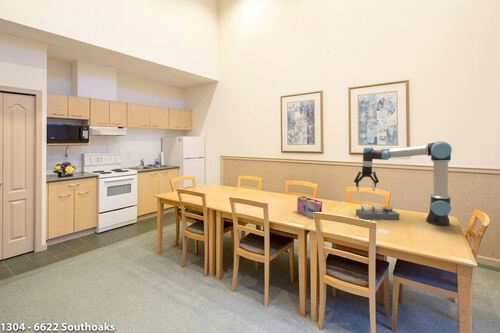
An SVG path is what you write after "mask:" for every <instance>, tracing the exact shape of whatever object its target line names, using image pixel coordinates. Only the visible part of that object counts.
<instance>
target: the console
mask: <svg viewBox="0 0 500 333" xmlns="http://www.w3.org/2000/svg"><path fill="white" fill-rule="evenodd" d="M379 207H380V208H381V210H382V207H383V210H382V212H375V210H374V207H372V206H371V207H370V206H369V208H370V209H371V212H364V210H363V207H361V208H356V209H355V215H356V216H357V217H358V216H359V217H358V218H359V219H361V220H362V219H366V220H367V221H370V220H371V221H372V220H373V221H376V220H377V221H379V220H380V221H381V220H382V221H399V220H400V213H399V212H396V211H394V209H389V210H385V208H384V207H385V206H382V207H381V206H379ZM369 219H370V220H369ZM374 219H376V220H374ZM366 220H365V221H366Z"/></svg>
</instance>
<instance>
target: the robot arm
mask: <svg viewBox="0 0 500 333" xmlns="http://www.w3.org/2000/svg"><path fill="white" fill-rule="evenodd" d="M362 151H363V152H362V167H361V171H358V173H357V175H356V176H355V178H354V180H353V182H354V183H355V187H356V191H357V192H359V191H360V183H361V181H362V179H363V178H370V180H371V181H372V191H373V192H375V191H376V187H377V184H378V183H379V182H380V181H379V178H378V177H377V176H378V175H377V174H376V171H373V160H378V161H379V160H380V161H389V159H391V158H392V159H393V158H404V157H414V156H415V157H416V156H427V157H430V160H431V161H432V163H433V193H432V194H431V195H430V202H429V212H428V213H427V217H426V218H425V222H426V223H428V224H431V225H433V226H434V225H435V226H441V227H447V226H450V219H449V218H450V217H449V213H451V211H452V207H451V196H449V162H450V161H451V160H452V151H453V149H452V146H451V144H449V143H448V142H447V141H442V140H441V141H440V140H439V141H436V142H435V141H434V142H431V143H426V144H423V145H415V146H406V147H405V146H404V147H396V148H385V149H384V148H383V149H379V150H378V149H377V150H376V149H374V147H363V150H362ZM372 175H373V176H372Z"/></svg>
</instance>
